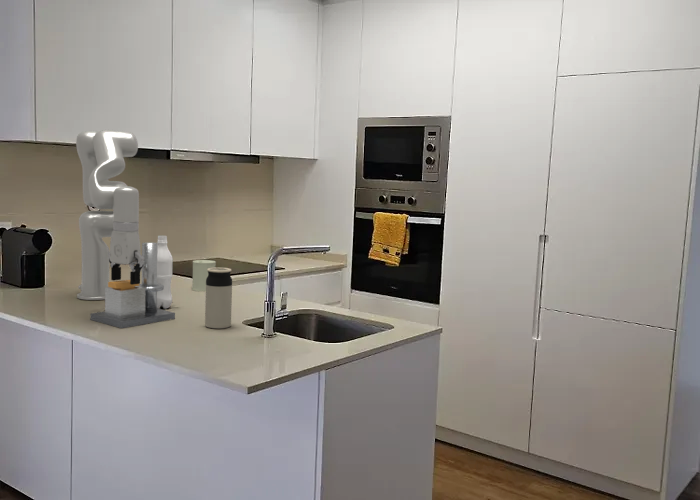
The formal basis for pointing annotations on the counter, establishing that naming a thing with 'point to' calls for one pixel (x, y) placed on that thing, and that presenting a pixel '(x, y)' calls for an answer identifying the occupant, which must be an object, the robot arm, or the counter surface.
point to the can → (201, 273)
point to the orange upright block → (122, 285)
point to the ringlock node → (136, 297)
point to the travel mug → (218, 298)
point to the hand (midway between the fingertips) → (125, 282)
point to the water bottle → (164, 273)
